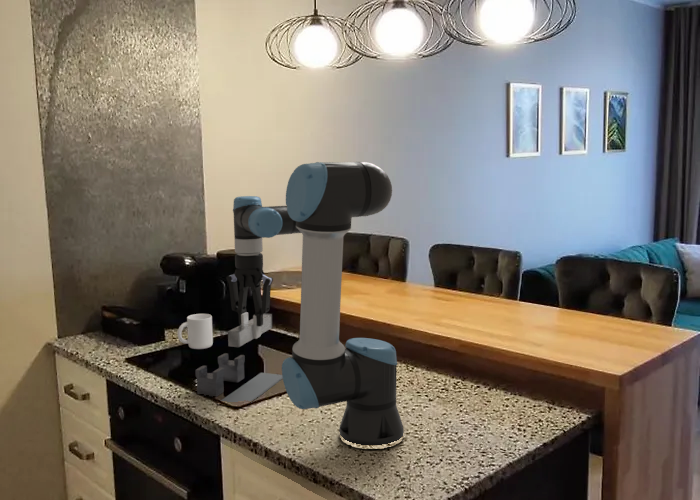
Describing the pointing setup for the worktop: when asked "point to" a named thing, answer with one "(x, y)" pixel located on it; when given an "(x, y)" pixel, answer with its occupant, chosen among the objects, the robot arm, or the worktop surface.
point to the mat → (254, 387)
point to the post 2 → (232, 367)
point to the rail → (247, 331)
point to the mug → (198, 331)
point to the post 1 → (210, 381)
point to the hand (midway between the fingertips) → (251, 336)
